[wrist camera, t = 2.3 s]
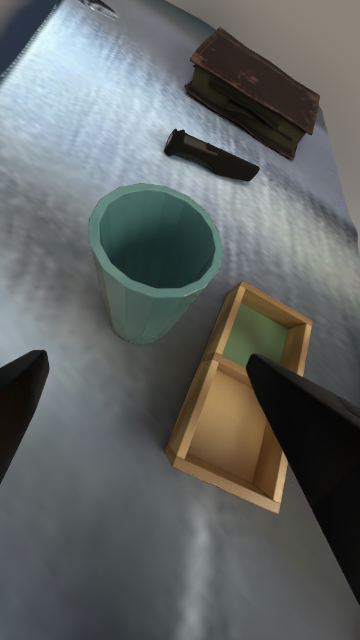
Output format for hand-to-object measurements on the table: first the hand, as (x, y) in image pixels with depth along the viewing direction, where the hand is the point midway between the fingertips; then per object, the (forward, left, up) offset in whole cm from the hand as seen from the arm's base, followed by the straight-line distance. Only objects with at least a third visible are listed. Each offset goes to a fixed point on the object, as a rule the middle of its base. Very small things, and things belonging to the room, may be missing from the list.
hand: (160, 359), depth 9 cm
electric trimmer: (+33, +13, -13) cm, 38 cm away
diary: (+56, +17, -13) cm, 60 cm away
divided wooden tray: (+6, -10, -13) cm, 17 cm away
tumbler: (+5, +4, -13) cm, 14 cm away
